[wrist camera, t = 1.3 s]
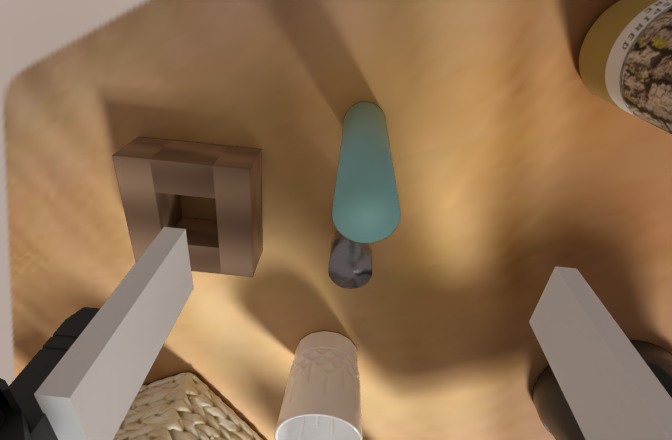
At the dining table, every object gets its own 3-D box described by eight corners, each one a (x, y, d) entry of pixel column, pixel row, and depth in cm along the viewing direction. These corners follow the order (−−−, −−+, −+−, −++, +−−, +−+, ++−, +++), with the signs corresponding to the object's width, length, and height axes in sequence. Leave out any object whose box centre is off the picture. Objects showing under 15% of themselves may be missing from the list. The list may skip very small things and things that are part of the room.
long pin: (382, 144, 32) (394, 246, 20) (342, 140, 32) (329, 239, 20) (388, 104, 30) (405, 187, 18) (346, 99, 30) (335, 180, 18)
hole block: (262, 250, 38) (252, 277, 34) (156, 238, 38) (136, 265, 34) (261, 149, 32) (249, 169, 29) (138, 136, 32) (112, 155, 29)
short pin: (368, 239, 36) (369, 290, 30) (332, 235, 36) (327, 286, 30) (372, 208, 35) (374, 256, 29) (335, 204, 35) (330, 252, 29)
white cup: (287, 326, 43) (268, 413, 34) (361, 325, 42) (360, 414, 33) (296, 375, 47) (281, 464, 38) (364, 375, 46) (364, 466, 38)
